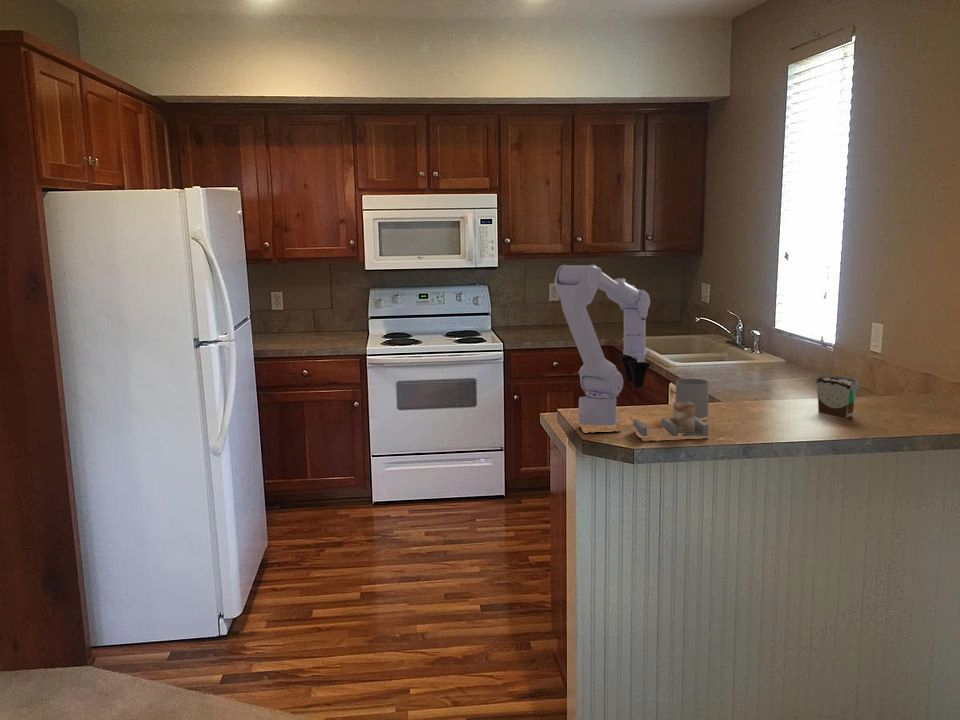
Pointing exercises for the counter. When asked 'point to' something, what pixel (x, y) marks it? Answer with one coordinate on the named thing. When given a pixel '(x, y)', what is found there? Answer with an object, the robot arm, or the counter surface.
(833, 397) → the food container
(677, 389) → the cup
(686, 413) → the peg
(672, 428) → the gray i-beam stand
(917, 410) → the counter surface
